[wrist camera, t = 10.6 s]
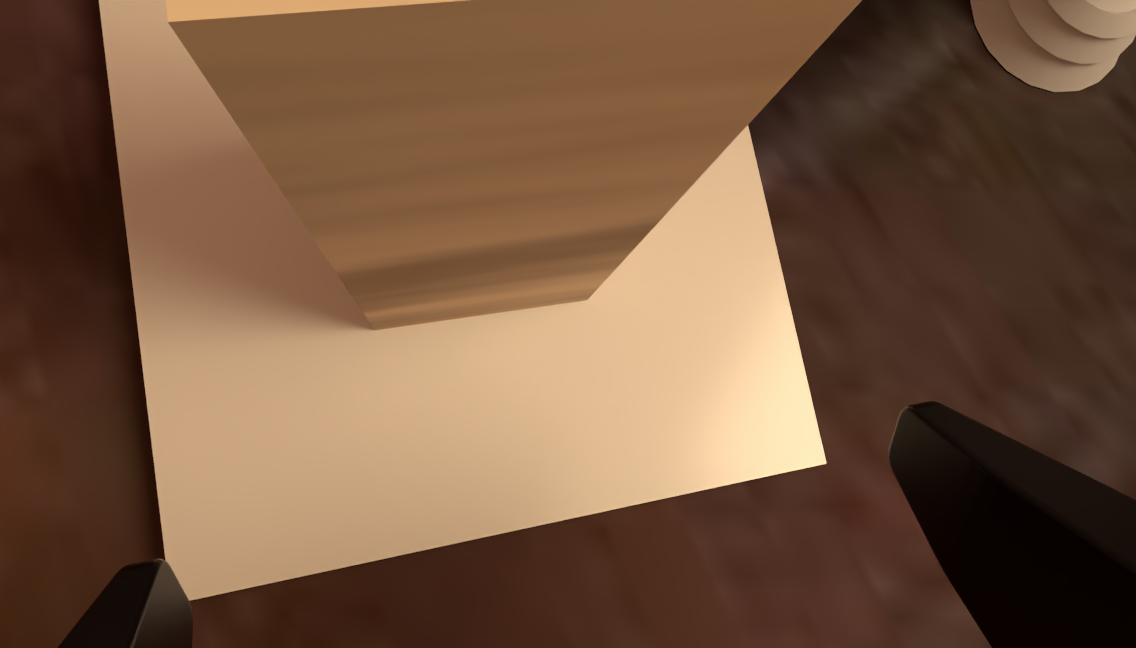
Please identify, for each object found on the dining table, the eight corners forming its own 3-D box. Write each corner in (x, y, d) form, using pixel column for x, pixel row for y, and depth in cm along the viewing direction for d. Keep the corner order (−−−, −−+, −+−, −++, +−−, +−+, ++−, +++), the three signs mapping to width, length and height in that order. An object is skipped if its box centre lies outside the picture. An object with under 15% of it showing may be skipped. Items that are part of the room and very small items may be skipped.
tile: (811, 463, 19) (826, 463, 19) (184, 597, 17) (170, 604, 16) (687, -76, 21) (696, -95, 20) (107, -30, 19) (92, -51, 18)
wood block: (587, 300, 18) (889, -31, 6) (374, 330, 17) (166, 21, 5) (553, 103, 19) (755, -587, 6) (346, 124, 18) (99, -626, 5)
